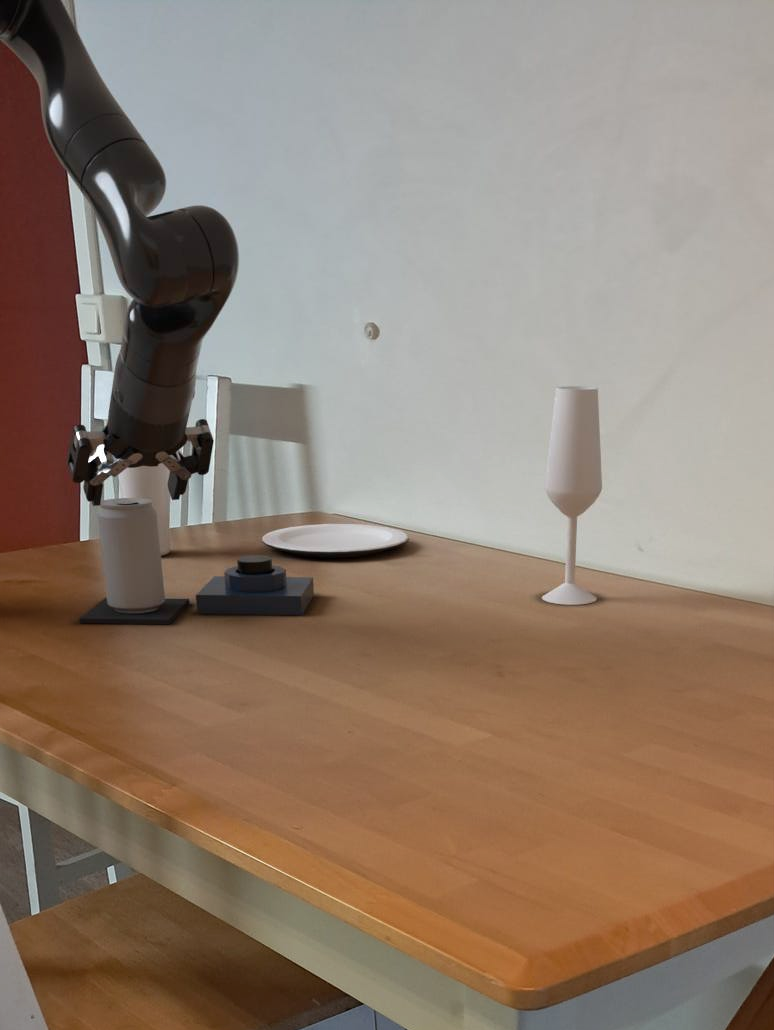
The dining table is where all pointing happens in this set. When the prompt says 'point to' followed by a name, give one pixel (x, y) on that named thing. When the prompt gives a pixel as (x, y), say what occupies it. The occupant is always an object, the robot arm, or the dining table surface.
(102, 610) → the coaster
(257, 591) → the button box
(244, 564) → the button
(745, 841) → the dining table surface
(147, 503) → the beverage can
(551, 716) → the dining table surface
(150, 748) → the dining table surface
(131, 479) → the drinking glass
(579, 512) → the champagne flute
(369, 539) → the plate
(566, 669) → the dining table surface
